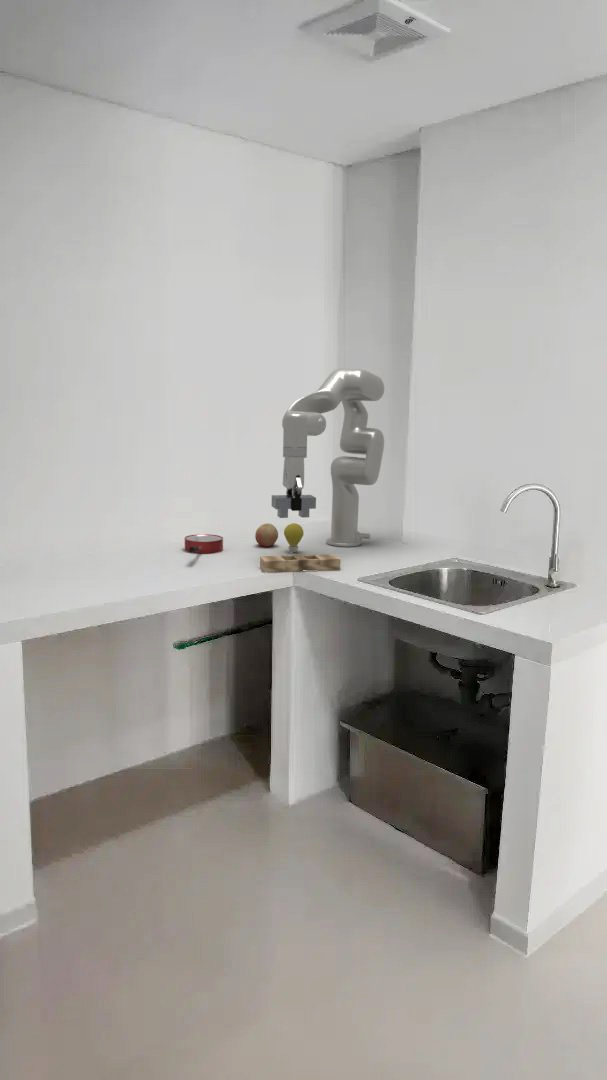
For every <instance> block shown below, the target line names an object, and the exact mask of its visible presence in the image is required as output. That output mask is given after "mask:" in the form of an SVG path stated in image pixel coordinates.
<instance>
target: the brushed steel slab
mask: <svg viewBox="0 0 607 1080" xmlns="http://www.w3.org/2000/svg"><path fill="white" fill-rule="evenodd" d="M291 498H293V497H292V495H287V494H285V495H284V494H283V495H282V494H279V495H278V494H277V495H275V494H272V495H271V507H272V508H273V509H275V510H277V517H279V518H280V519H287V518H289V510H291ZM312 509H313V510H315V509H317V497H315V496H314V495H312V494H302V507H301V511H298V516H299V517H300V518H304V519H305V518H310V510H312Z"/></svg>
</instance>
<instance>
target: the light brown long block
mask: <svg viewBox="0 0 607 1080" xmlns="http://www.w3.org/2000/svg"><path fill="white" fill-rule="evenodd" d="M259 569H261V570H262V572H263V573H265V572H267V573H289V572H292V573H293V572H304V571H303V570H327V571H341V557H338V556H337V555H335V554H333V553H330V554H325V553H324V554H300V555H299V554H296V555H295V554H294V555H293V554H291V555H265V556H264V555H260V556H259Z"/></svg>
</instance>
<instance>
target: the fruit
mask: <svg viewBox="0 0 607 1080" xmlns="http://www.w3.org/2000/svg"><path fill="white" fill-rule="evenodd" d="M254 538H255V541H256V543H257V544H258V545H259V546H260V547H262V546H263V547H264V548H268V546H269V547H272V546H274V545H275V544H276V542H277V541H278V539H279V531H278V529H277V527H276V526H274V524H272V523H267V522H266V523H263V524H261V525H260V526H259V527H258V528H257V529H256V530H255V537H254ZM263 547H262V548H263Z"/></svg>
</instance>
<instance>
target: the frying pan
mask: <svg viewBox="0 0 607 1080" xmlns="http://www.w3.org/2000/svg"><path fill="white" fill-rule="evenodd" d="M223 550H224V537H223V536H221V535H217V534H209V533H207V534H206V533H204V534H202V533H201V534H200V533H199V534H198V533H197V534H190V535H186V536H185V537H184V551H185V552H187V553H190V554H197V555H199V554H200V555H209V554H212V555H213V554H217V553H220V552H222V551H223Z"/></svg>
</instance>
